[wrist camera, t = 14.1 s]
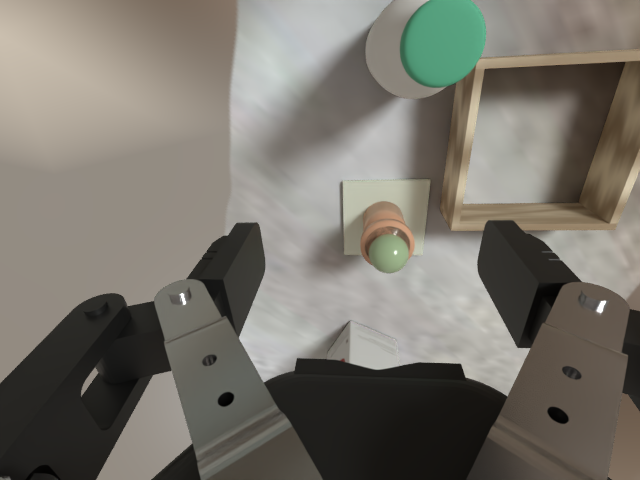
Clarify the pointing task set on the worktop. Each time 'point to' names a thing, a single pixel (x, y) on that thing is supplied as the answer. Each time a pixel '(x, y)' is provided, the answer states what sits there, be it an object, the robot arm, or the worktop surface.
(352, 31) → the worktop surface
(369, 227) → the terracotta pot
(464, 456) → the robot arm
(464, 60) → the milk bottle
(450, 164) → the wooden shadow box
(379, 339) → the supplement box
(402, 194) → the sage mat
